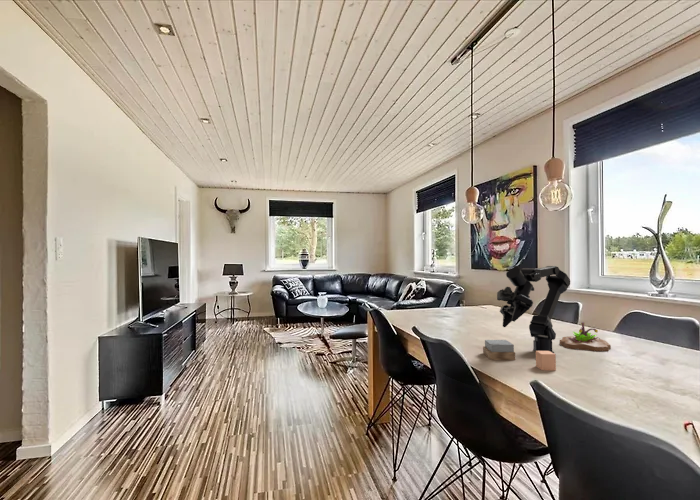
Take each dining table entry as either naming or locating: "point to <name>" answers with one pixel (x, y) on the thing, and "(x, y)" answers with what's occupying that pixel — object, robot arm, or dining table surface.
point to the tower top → (499, 346)
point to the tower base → (498, 355)
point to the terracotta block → (545, 360)
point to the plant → (585, 341)
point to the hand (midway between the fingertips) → (508, 324)
